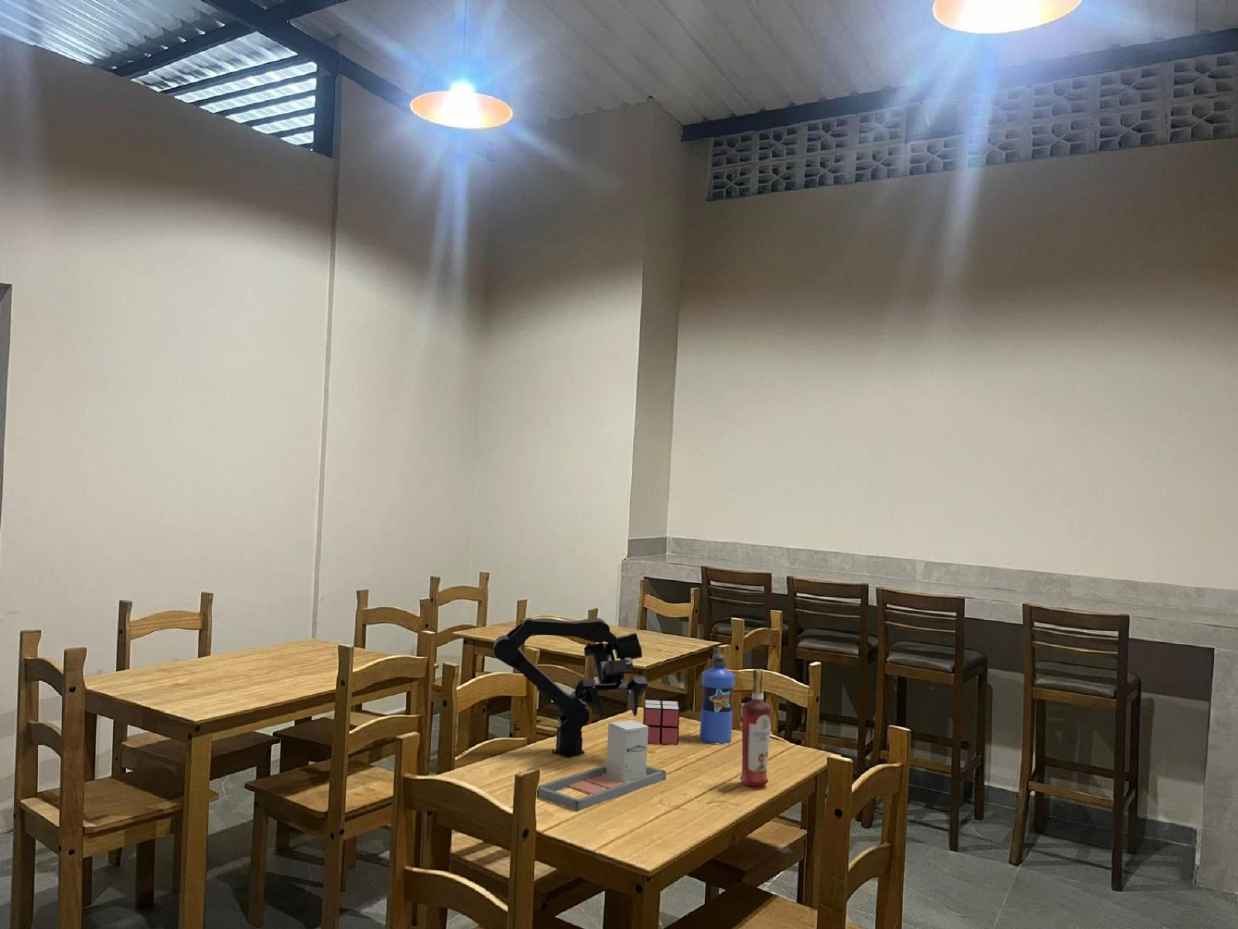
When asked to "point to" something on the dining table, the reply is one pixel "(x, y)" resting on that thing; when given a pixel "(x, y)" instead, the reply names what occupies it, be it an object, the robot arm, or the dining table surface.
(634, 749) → the supplement box
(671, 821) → the dining table surface
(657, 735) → the puzzle cube
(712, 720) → the water bottle
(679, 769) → the dining table surface
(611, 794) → the shallow tray
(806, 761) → the dining table surface
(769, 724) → the liquor
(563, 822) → the dining table surface
